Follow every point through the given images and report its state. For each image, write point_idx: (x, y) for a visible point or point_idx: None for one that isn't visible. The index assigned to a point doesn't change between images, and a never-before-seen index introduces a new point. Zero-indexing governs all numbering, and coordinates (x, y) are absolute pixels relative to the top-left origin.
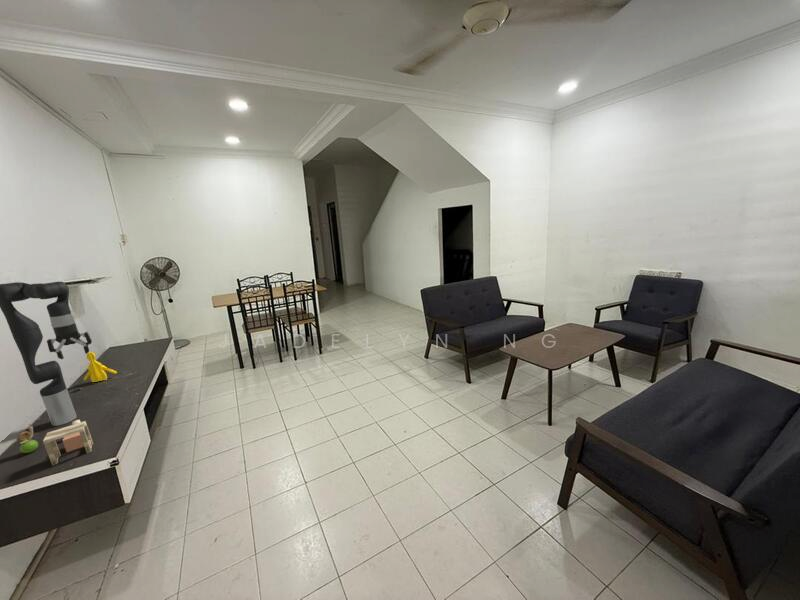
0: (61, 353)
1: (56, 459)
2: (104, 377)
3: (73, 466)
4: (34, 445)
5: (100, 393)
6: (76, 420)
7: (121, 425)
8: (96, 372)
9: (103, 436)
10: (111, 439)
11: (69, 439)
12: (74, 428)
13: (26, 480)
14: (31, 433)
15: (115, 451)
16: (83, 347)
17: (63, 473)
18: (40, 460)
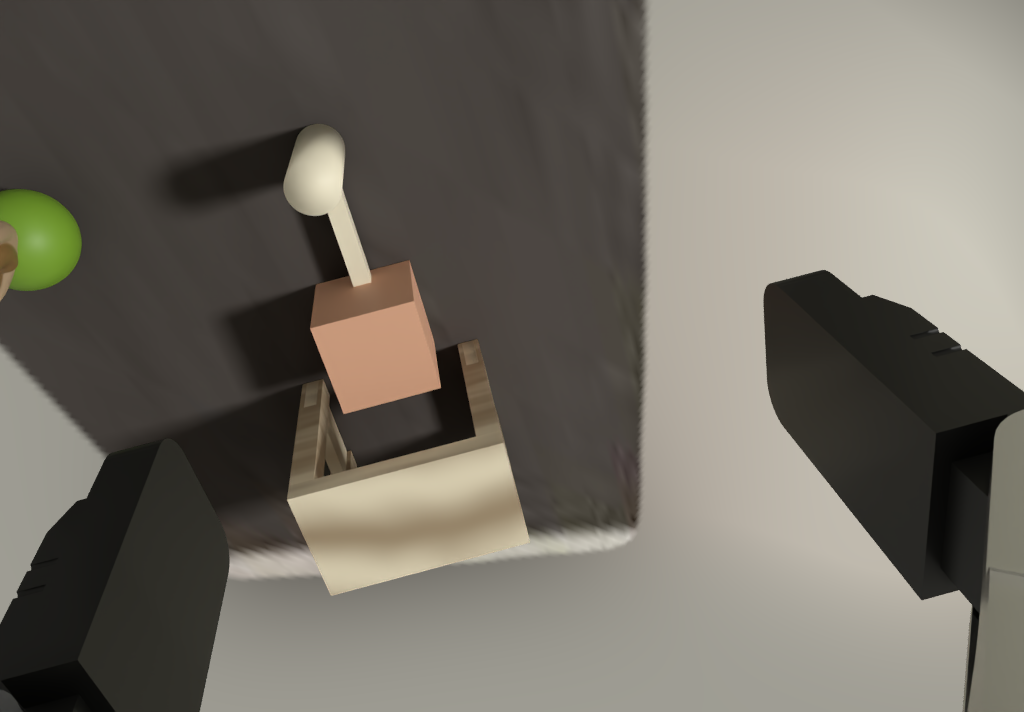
0: (163, 654)
1: (352, 468)
2: None
3: None
4: (75, 261)
5: None
6: (309, 171)
7: (593, 167)
8: None
9: (511, 274)
10: (576, 344)
11: (378, 400)
12: (471, 523)
13: (271, 540)
14: (3, 241)
15: (631, 483)
16: (907, 577)
17: None
18: (216, 382)
